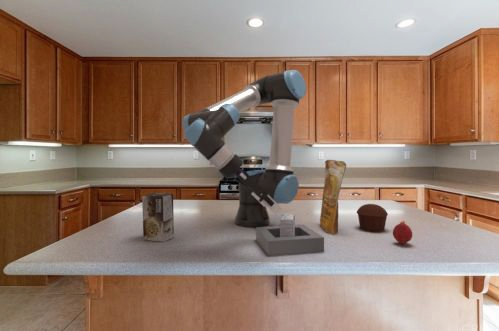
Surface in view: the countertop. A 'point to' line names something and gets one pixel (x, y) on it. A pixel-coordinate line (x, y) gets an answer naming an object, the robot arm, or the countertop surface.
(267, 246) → the frame
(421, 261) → the countertop surface
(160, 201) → the coffee box
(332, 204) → the pancake mix bag
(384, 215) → the muffin
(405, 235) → the red rounded lump
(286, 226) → the medicine box
